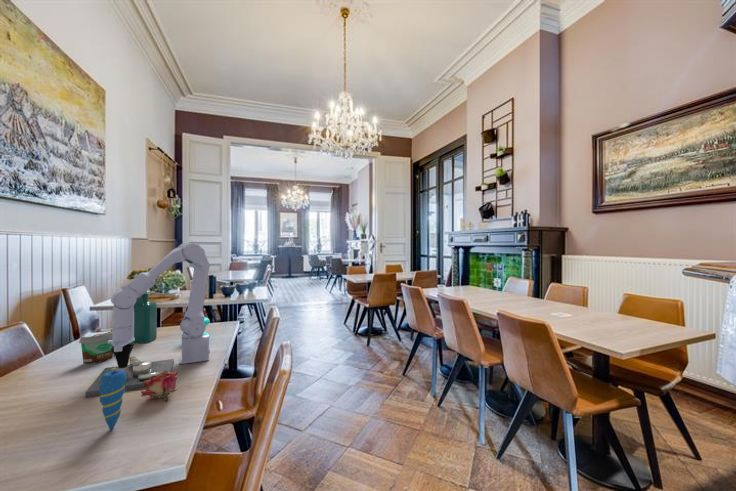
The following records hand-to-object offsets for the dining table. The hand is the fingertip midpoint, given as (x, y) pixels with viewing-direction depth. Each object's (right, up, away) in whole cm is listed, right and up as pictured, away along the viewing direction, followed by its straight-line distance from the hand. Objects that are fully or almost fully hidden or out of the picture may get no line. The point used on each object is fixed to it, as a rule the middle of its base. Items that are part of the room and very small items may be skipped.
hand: (123, 367), depth 107 cm
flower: (+22, -3, -16) cm, 28 cm away
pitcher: (-20, -3, +38) cm, 43 cm away
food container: (-18, -3, +14) cm, 23 cm away
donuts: (+4, -3, +39) cm, 39 cm away
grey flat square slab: (+5, -3, -2) cm, 6 cm away
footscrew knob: (+4, -1, +1) cm, 5 cm away
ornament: (+21, -3, -31) cm, 38 cm away
